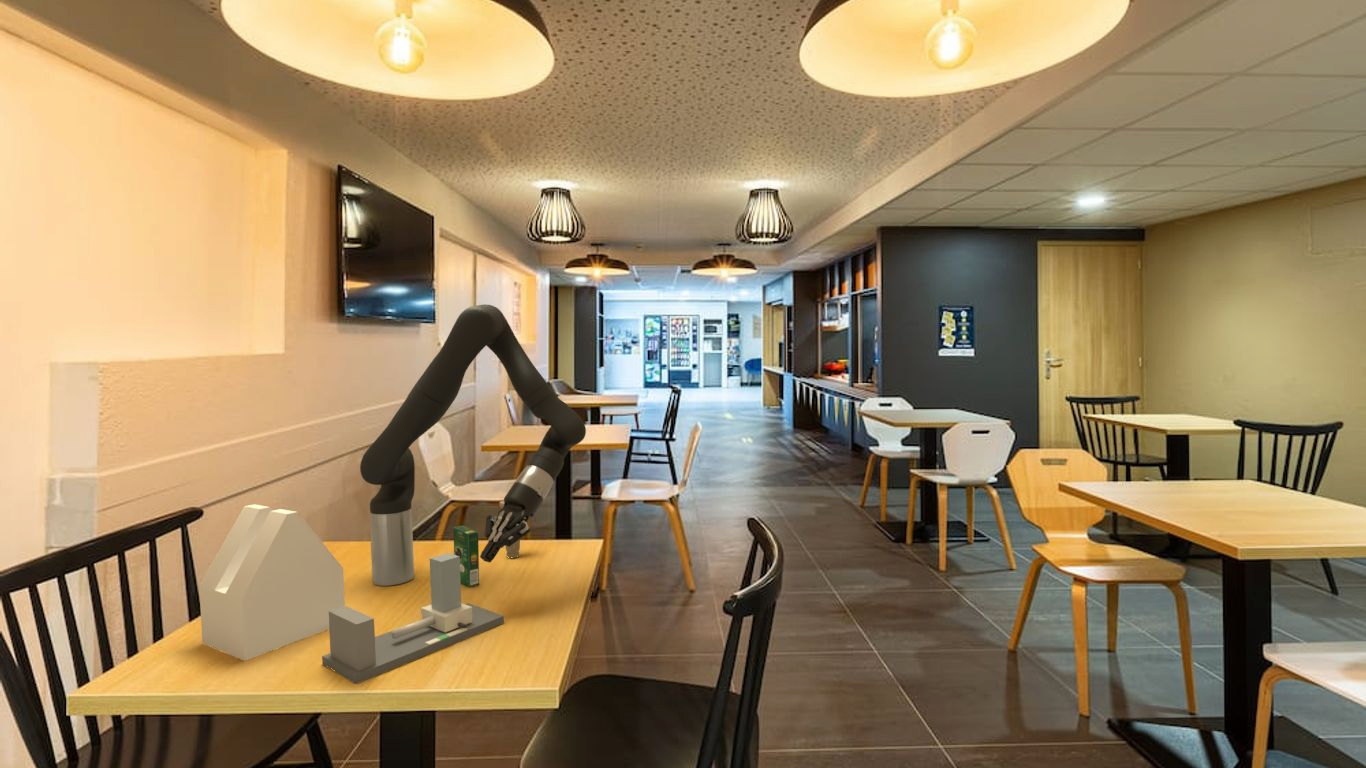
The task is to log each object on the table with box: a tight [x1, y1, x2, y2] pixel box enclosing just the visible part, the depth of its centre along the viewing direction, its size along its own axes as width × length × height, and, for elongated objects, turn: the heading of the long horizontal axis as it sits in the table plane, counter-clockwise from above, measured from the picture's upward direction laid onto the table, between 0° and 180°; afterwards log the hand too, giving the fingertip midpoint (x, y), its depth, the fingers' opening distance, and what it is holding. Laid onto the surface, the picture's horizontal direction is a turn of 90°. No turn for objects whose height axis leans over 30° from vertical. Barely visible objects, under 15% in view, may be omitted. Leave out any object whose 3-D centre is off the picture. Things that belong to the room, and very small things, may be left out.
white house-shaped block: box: [198, 503, 346, 662], centre depth 130 cm, size 19×15×25 cm
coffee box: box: [452, 525, 480, 588], centre depth 157 cm, size 8×3×13 cm, turn 44°
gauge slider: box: [391, 552, 472, 639], centre depth 126 cm, size 10×14×13 cm
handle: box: [499, 500, 521, 559], centre depth 177 cm, size 5×6×15 cm
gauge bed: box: [321, 602, 505, 685], centre depth 125 cm, size 12×30×10 cm, turn 143°
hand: (484, 560), depth 137 cm, fingers closed
